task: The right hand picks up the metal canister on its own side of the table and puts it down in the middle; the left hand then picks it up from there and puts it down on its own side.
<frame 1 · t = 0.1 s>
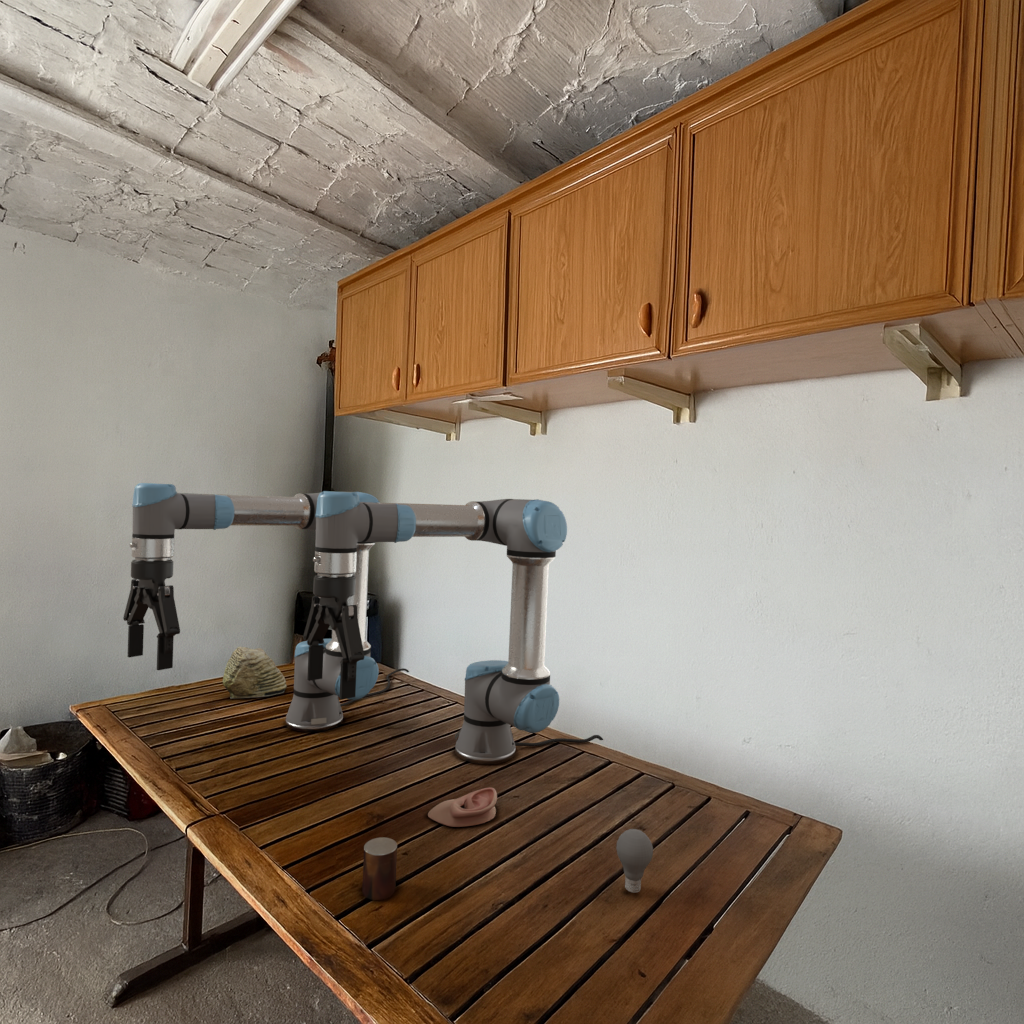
left hand: (149, 662, 129), 28 cm above the table, tool pointing down, fingers open, 13 cm apart
right hand: (330, 688, 118), 28 cm above the table, tool pointing down, fingers open, 13 cm apart
anatomical model: (462, 814, 129), on the table
light bulb: (632, 891, 106), on the table
canister: (378, 890, 103), on the table
fossil: (254, 694, 198), on the table
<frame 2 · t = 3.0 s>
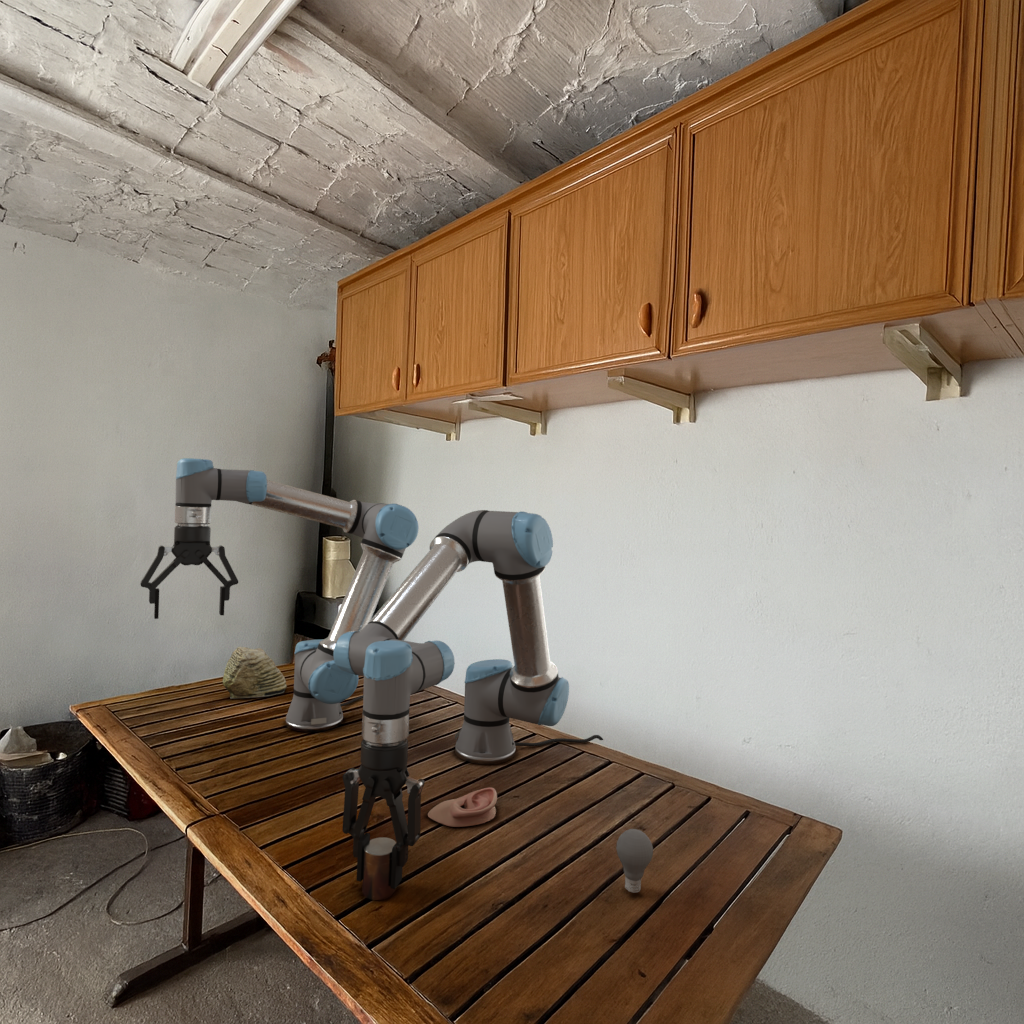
left hand: (189, 616, 148), 34 cm above the table, tool pointing down, fingers open, 13 cm apart
right hand: (379, 879, 103), 2 cm above the table, tool pointing down, fingers closed on canister, 5 cm apart
canister: (378, 890, 103), on the table, touching right hand
everything else where it was.
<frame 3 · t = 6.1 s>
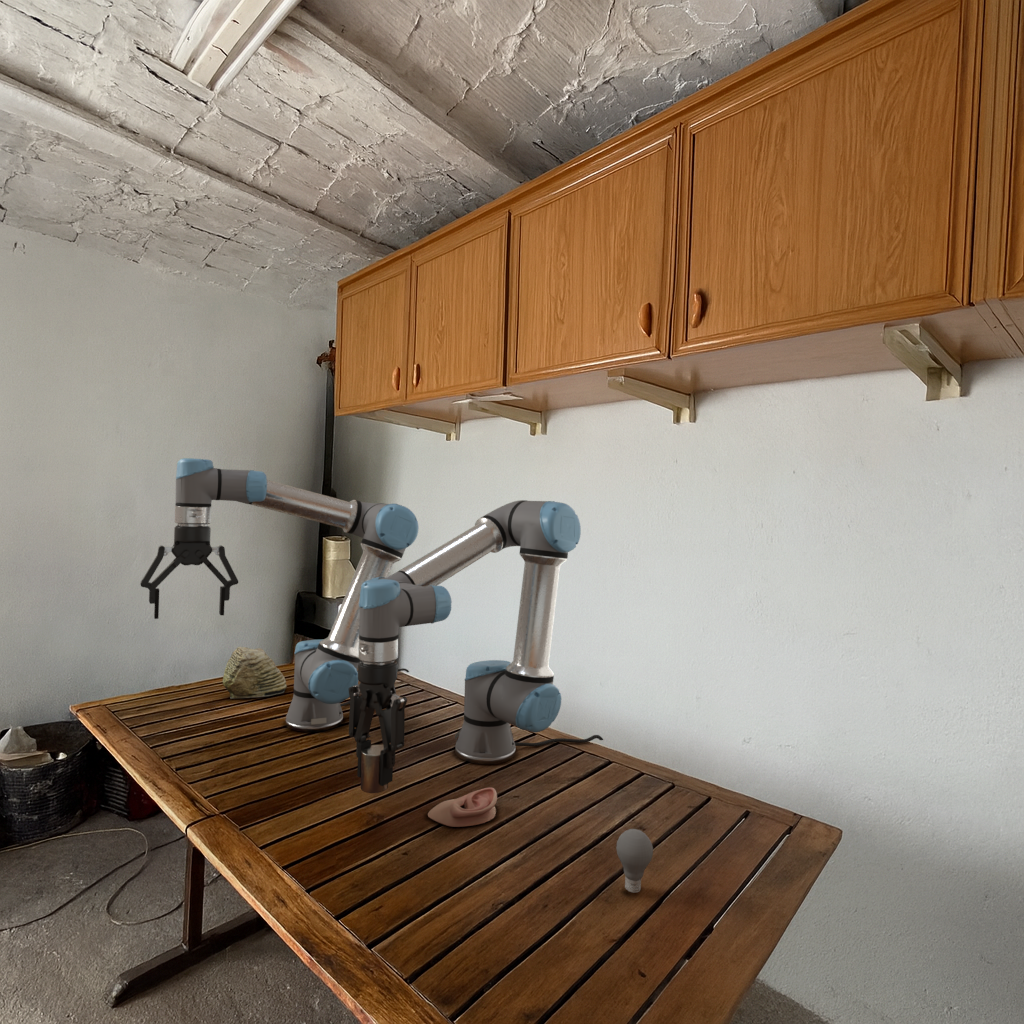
left hand: (189, 616, 148), 34 cm above the table, tool pointing down, fingers open, 13 cm apart
right hand: (374, 778, 123), 9 cm above the table, tool pointing down, fingers closed on canister, 5 cm apart
canister: (374, 787, 123), point 7 cm above the table, touching right hand
everything else where it was.
when the right hand's fingers open (3 cm above the table, at t = 9.1 s): canister stays where it is, on the table.
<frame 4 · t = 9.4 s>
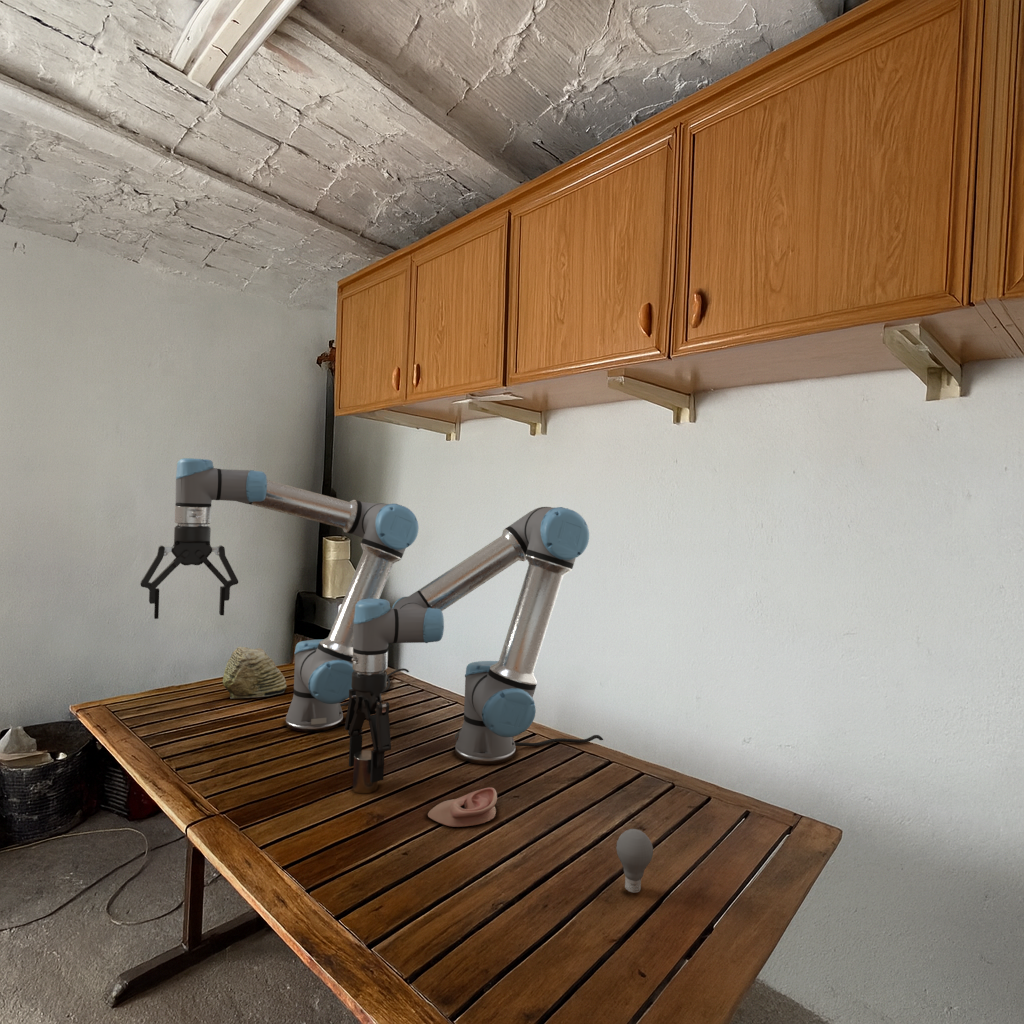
left hand: (189, 616, 148), 34 cm above the table, tool pointing down, fingers open, 13 cm apart
right hand: (365, 772, 139), 3 cm above the table, tool pointing down, fingers open, 9 cm apart
canister: (365, 787, 139), on the table
everything else where it was.
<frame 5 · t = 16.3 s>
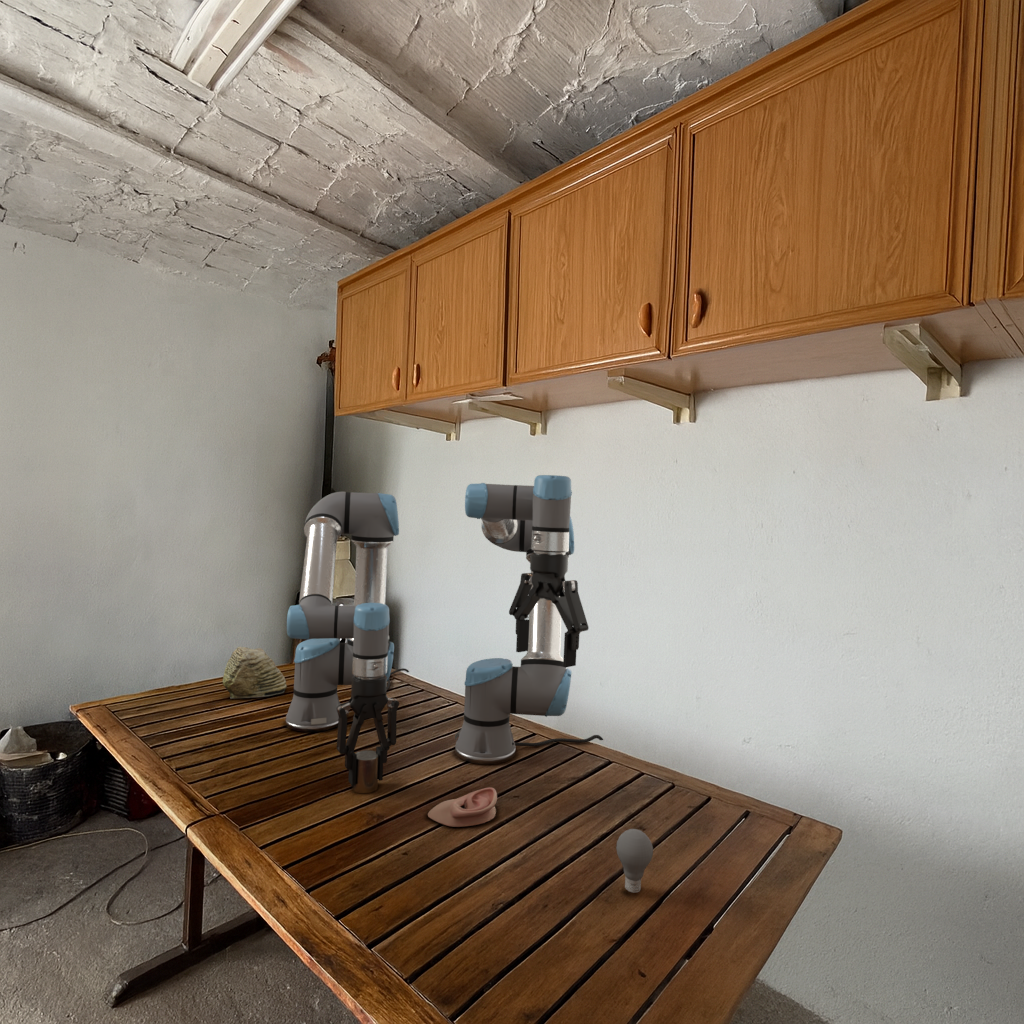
left hand: (365, 780, 139), 2 cm above the table, tool pointing down, fingers closed on canister, 5 cm apart
right hand: (544, 658, 127), 33 cm above the table, tool pointing down, fingers open, 13 cm apart
canister: (365, 787, 139), on the table, touching left hand
everything else where it was.
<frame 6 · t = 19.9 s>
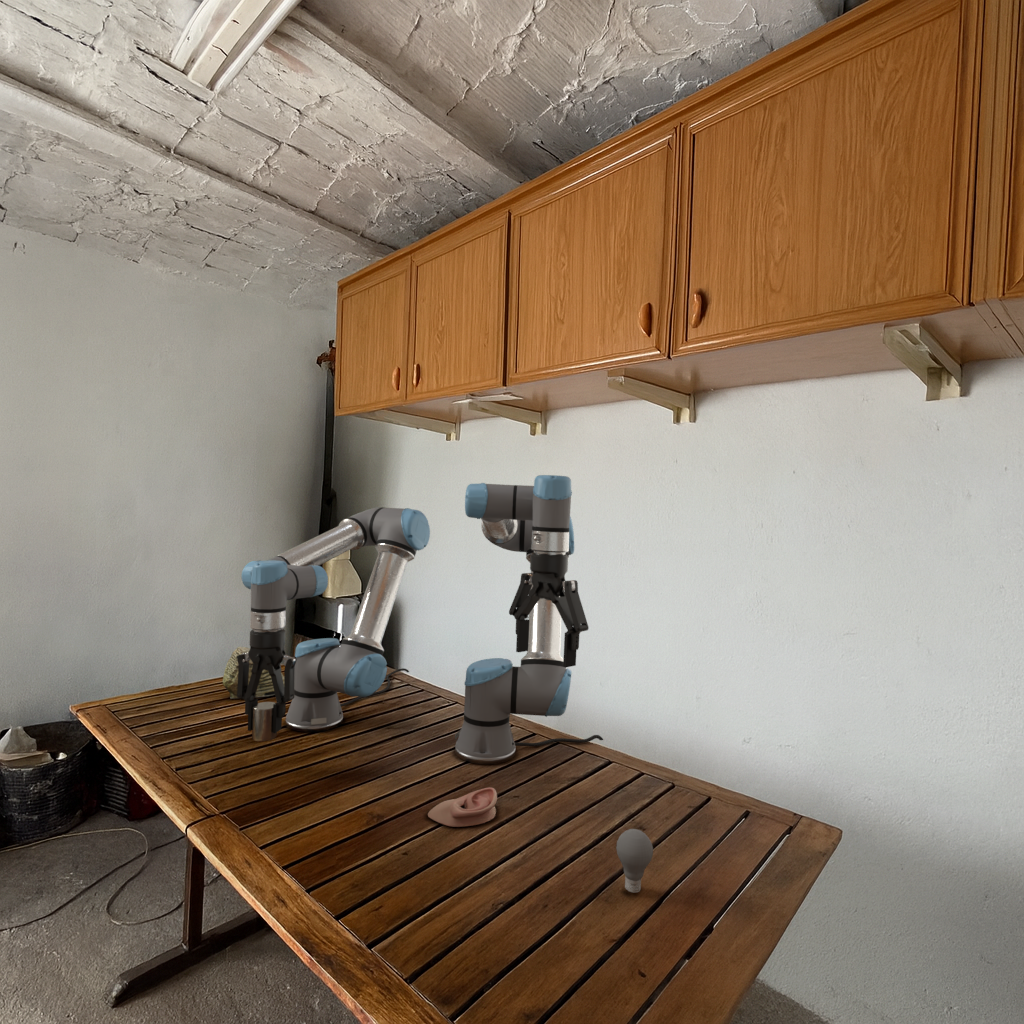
left hand: (264, 729, 145), 9 cm above the table, tool pointing down, fingers closed on canister, 5 cm apart
right hand: (544, 658, 127), 33 cm above the table, tool pointing down, fingers open, 13 cm apart
canister: (264, 737, 145), point 8 cm above the table, touching left hand
everything else where it was.
when the left hand's fingers open (3 cm above the table, at t = 23.6 s): canister stays where it is, on the table.
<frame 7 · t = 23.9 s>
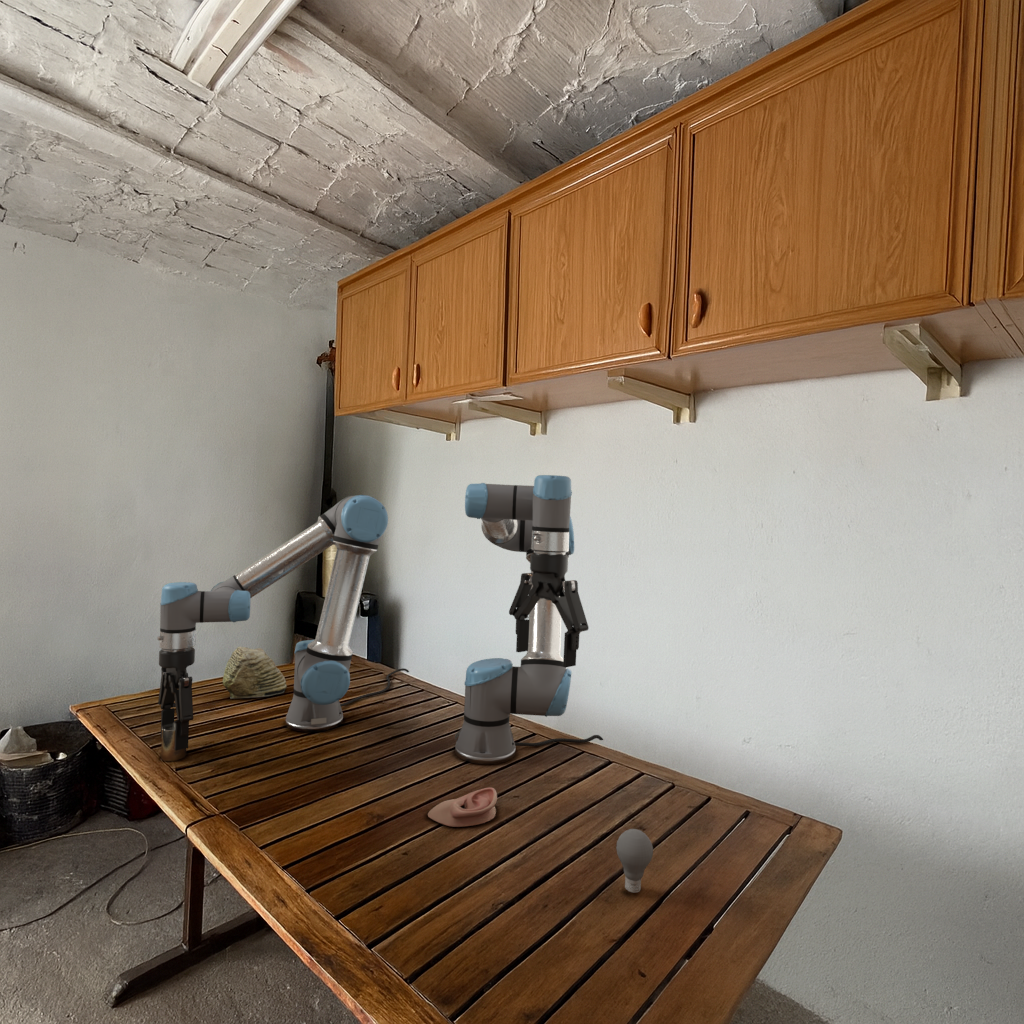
left hand: (174, 742, 150), 3 cm above the table, tool pointing down, fingers open, 9 cm apart
right hand: (544, 658, 127), 33 cm above the table, tool pointing down, fingers open, 13 cm apart
canister: (173, 756, 150), on the table
everything else where it was.
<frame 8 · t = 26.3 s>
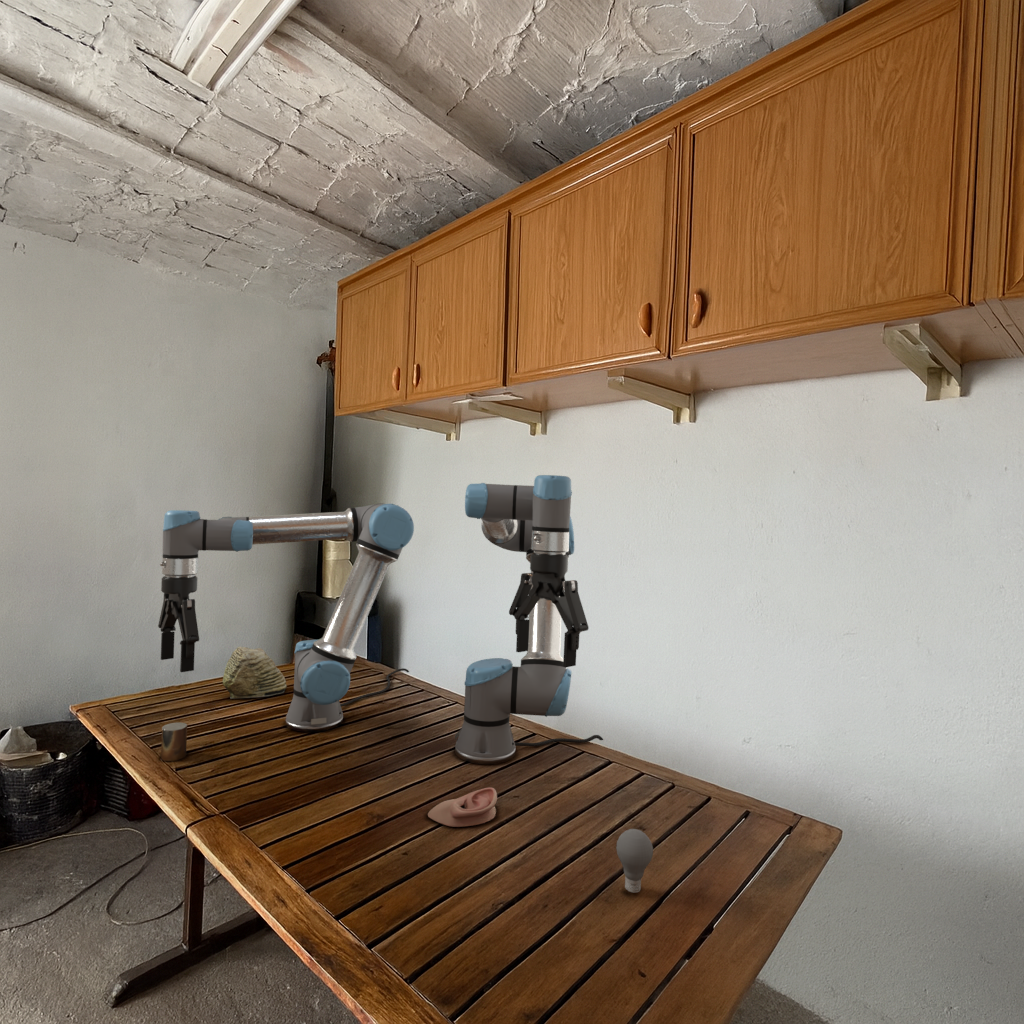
left hand: (176, 665, 150), 22 cm above the table, tool pointing down, fingers open, 13 cm apart
right hand: (544, 658, 127), 33 cm above the table, tool pointing down, fingers open, 13 cm apart
nothing on the table moved.
at the end: canister inside the target area (0.1 cm from its centre), on the table; canister tilted 0°; the two hands never held the canister at the same time; the left hand is holding nothing; the right hand is holding nothing; canister at rest at the end (0.0 cm/s) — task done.
